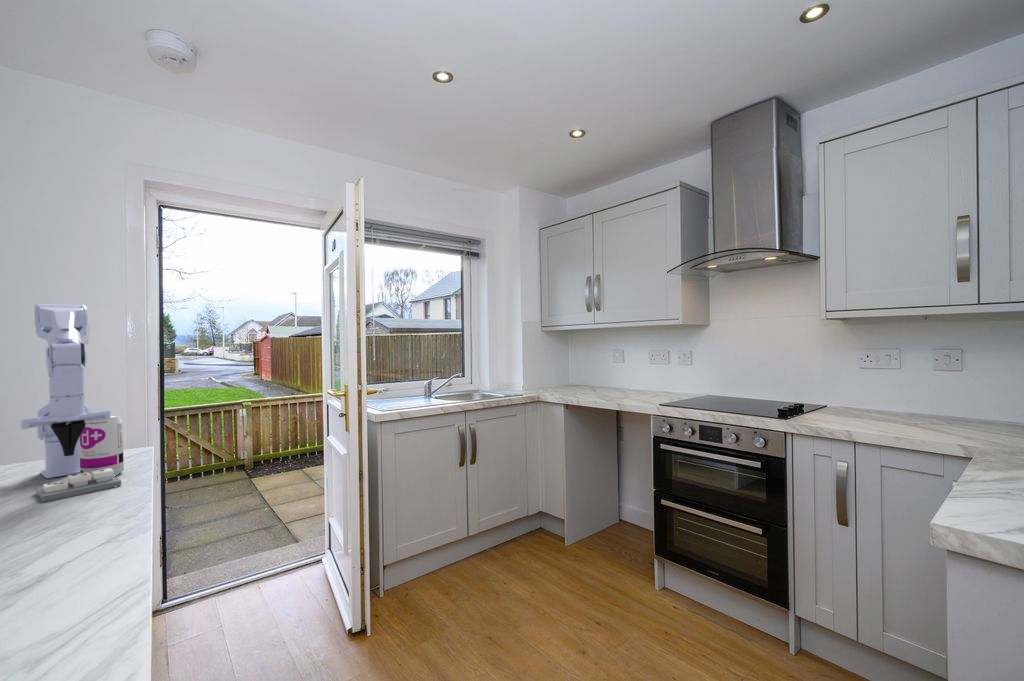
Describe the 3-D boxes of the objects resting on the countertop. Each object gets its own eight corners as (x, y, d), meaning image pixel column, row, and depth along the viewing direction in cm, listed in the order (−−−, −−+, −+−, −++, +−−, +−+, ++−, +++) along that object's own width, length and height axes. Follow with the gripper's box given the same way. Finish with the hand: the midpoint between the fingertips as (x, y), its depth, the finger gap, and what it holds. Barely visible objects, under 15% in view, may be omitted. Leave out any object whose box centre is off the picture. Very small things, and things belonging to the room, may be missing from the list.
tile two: (67, 485, 106) (67, 475, 106) (87, 482, 109) (87, 471, 109) (70, 488, 104) (70, 477, 104) (91, 484, 107) (91, 473, 107)
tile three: (43, 495, 103) (42, 483, 103) (64, 490, 105) (64, 479, 105) (46, 498, 101) (45, 486, 101) (68, 493, 103) (67, 482, 103)
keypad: (36, 493, 104) (36, 488, 104) (110, 478, 114) (110, 474, 114) (43, 502, 98) (43, 496, 98) (121, 485, 109) (121, 480, 109)
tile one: (90, 481, 109) (90, 470, 109) (109, 477, 112) (109, 467, 112) (94, 484, 107) (94, 473, 107) (113, 480, 110) (113, 469, 110)
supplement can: (103, 481, 112) (102, 420, 112) (70, 481, 113) (69, 420, 112) (132, 471, 121) (130, 414, 120) (101, 471, 121) (99, 414, 121)
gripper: (23, 400, 96) (25, 465, 97) (113, 393, 108) (114, 451, 108) (19, 398, 101) (20, 460, 101) (105, 391, 112) (107, 446, 112)
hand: (68, 455), depth 105 cm, fingers closed
